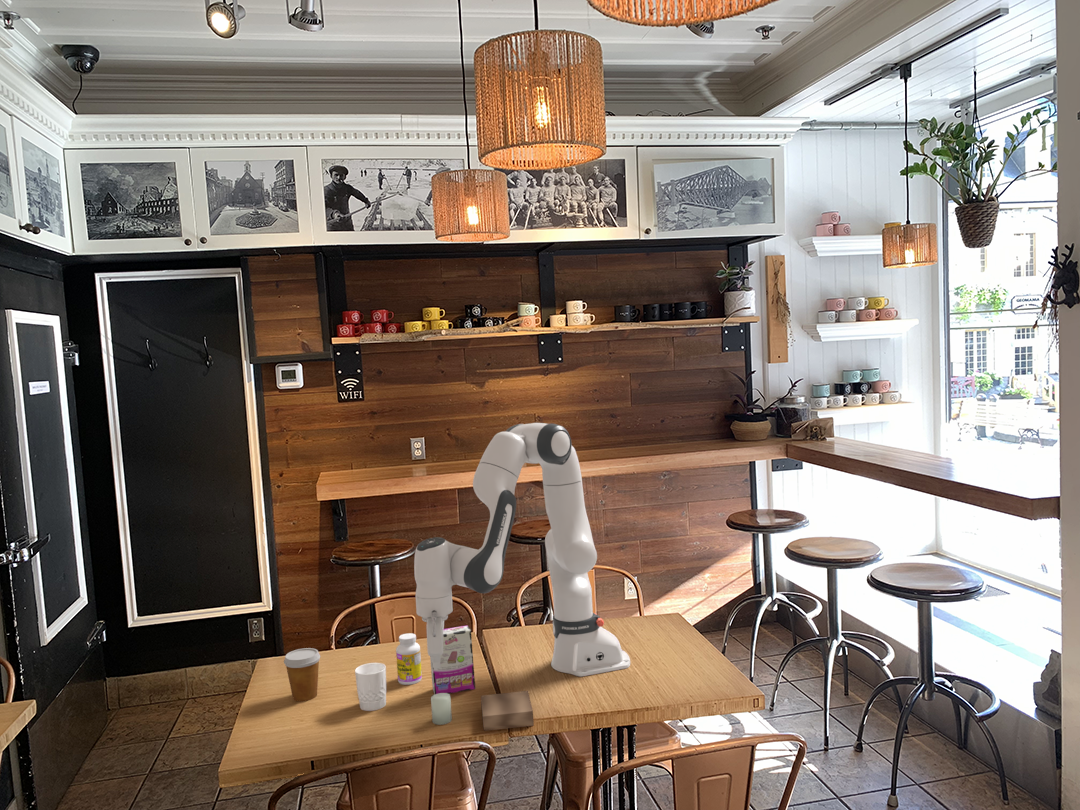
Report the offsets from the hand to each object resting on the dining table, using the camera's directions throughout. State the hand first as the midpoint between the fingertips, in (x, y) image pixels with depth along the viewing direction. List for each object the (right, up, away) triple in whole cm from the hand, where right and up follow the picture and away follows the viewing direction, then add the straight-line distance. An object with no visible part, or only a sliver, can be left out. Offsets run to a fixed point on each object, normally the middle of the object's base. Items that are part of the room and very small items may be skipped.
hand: (437, 660), depth 200 cm
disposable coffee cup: (-38, -16, +20) cm, 46 cm away
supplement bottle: (-11, -14, +27) cm, 32 cm away
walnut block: (+17, -15, +1) cm, 23 cm away
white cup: (-18, -16, +12) cm, 27 cm away
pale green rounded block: (+1, -15, +1) cm, 15 cm away
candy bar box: (+2, -14, +19) cm, 24 cm away
